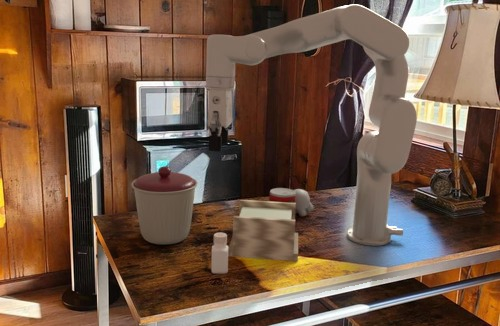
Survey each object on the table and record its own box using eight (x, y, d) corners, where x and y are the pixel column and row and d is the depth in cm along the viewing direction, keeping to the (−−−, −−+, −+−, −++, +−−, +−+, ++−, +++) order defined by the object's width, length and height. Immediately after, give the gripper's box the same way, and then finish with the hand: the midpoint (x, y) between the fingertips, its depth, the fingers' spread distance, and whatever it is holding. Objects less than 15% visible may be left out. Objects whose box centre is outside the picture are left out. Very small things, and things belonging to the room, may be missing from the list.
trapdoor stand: (297, 239, 143) (299, 203, 140) (297, 261, 129) (299, 221, 126) (234, 235, 145) (235, 199, 142) (227, 256, 130) (228, 217, 128)
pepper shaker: (227, 267, 124) (228, 231, 122) (227, 274, 120) (228, 238, 118) (211, 267, 124) (212, 231, 122) (211, 274, 120) (211, 237, 118)
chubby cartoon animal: (277, 221, 165) (269, 199, 161) (305, 203, 169) (298, 182, 166) (288, 228, 158) (281, 205, 155) (317, 210, 163) (310, 188, 159)
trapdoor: (291, 216, 140) (291, 209, 140) (290, 231, 128) (291, 224, 128) (242, 213, 141) (242, 206, 141) (237, 228, 130) (237, 221, 129)
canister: (129, 229, 146) (127, 160, 141) (189, 224, 152) (189, 157, 147) (137, 254, 130) (135, 177, 125) (204, 246, 136) (204, 172, 131)
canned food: (292, 230, 149) (294, 196, 147) (266, 228, 151) (267, 193, 148) (295, 222, 157) (297, 189, 154) (270, 219, 158) (271, 186, 155)
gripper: (228, 86, 120) (226, 155, 124) (239, 81, 137) (237, 142, 141) (198, 85, 121) (197, 153, 125) (212, 80, 138) (211, 140, 142)
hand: (218, 147), depth 133 cm, fingers open, 9 cm apart
